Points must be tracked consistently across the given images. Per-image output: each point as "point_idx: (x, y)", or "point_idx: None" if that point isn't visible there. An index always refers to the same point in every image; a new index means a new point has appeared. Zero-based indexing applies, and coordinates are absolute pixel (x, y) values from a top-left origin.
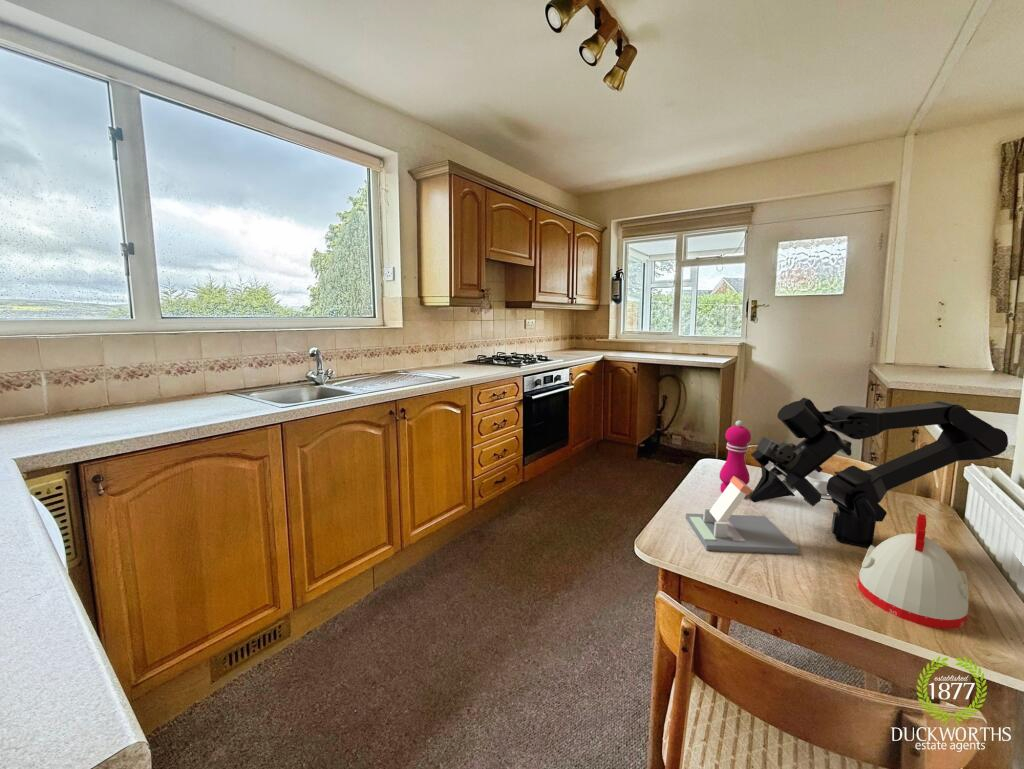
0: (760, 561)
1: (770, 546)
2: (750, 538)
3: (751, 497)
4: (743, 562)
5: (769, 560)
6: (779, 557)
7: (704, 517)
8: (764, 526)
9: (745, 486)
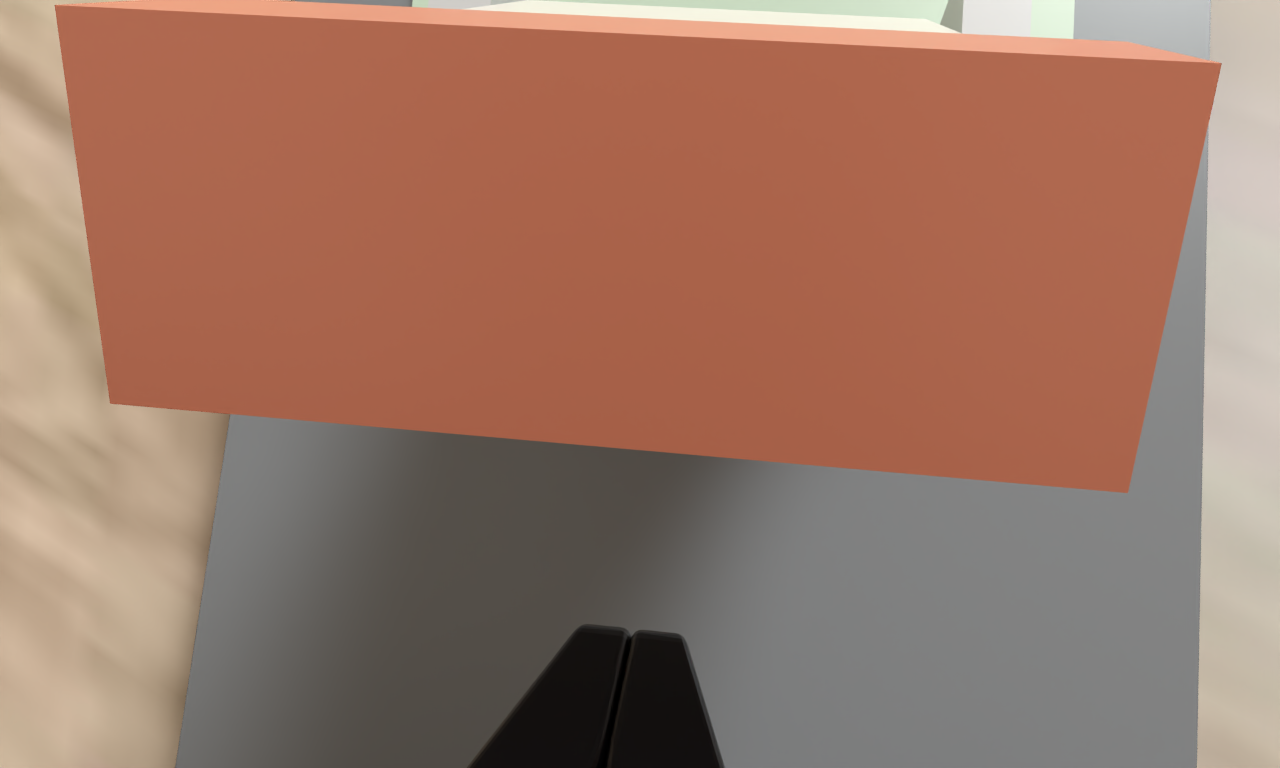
0: (73, 427)
1: (213, 677)
2: (434, 512)
3: (603, 649)
4: (76, 220)
5: (80, 549)
6: (126, 719)
7: None
8: None
9: (76, 101)
